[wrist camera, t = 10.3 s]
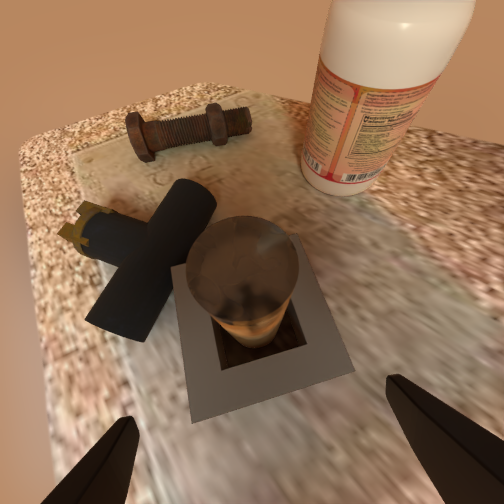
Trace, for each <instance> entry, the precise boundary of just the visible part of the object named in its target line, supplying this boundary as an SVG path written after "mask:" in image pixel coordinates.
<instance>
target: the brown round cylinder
mask: <svg viewBox="0 0 504 504" xmlns="http://www.w3.org/2000/svg"><path fill="white" fill-rule="evenodd" d="M185 272H186V280H187V284H188V287H189V290H190V292H191V294H192V296H193V297H194V299H195V300H196V301H197V302H198V304H199V305H200V306H201V307H202V308H203V309H205V310H206V311H207V312H208V313H209V314H210V315H211V316H212V317H213V318H214V319H215V320H216V321H217V322H218V323H219V324H220V325H221V326H222V327H223V328H224V329H225V330H226V331H228V332H229V333H230V334H231V335H232V336H233V337H234V338H235V339H236V340H237V341H238V342H239V343H240V344H242V345H243V346H245V347H248V348H261V347H264V346H266V345H268V344H269V343H270V342H271V341H272V340H273V339H274V337H275V336H276V334H277V331H278V329H279V326H280V323H281V321H282V318H283V316H284V313H285V311H286V308H287V306H288V303H289V300H290V298H291V295H292V293H293V290H294V288H295V285H296V283H297V279H298V274H299V260H298V254H297V251H296V248H295V246H294V244H293V242H292V241H291V239H290V238H289V236H288V235H287V234H286V233H285V232H284V231H283V230H282V229H281V228H279V227H278V226H277V225H275V224H273V223H271V222H270V221H267V220H265V219H262V218H258V217H252V216H236V217H231V218H227V219H224V220H221V221H219V222H217V223H215V224H213V225H211V226H210V227H208V228H207V229H206V230H205V231H204V232H202V233H201V234H200V235H199V237H198V238H197V239H196V240H195V242H194V243H193V245H192V247H191V249H190V251H189V254H188V257H187V261H186V271H185Z"/></svg>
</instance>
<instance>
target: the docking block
mask: <svg viewBox="0 0 504 504" xmlns="http://www.w3.org/2000/svg"><path fill="white" fill-rule="evenodd" d="M289 238H290V239H291V241H292V242H293V244H294V246H295V248H296V251H297V254H298V260H299V274H298V279H297V283H296V285H295V288H294V290H293V293H292V295H291V298H290V300H289V303H288V306H287V308H286V309H287V312H288V315H289V318H290V321H291V324H292V327H293V329H294V332H295V335H296V338H297V341H298V344H299V347H297V348H294V349H290V350H287V351H284V352H281V353H277V354H274V355H271V356H268V357H264V358H261V359H258V360H255V361H251V362H248V363H245V364H242V365H238V366H235V367H232V368H228V364H227V359H226V354H225V349H224V345H223V340H222V335H221V330H220V326H219V323H218V322H217V321H216V320H215V319H214V318H213V317H212V316H211V315H210V314H209V313H208V312H207V311H206V310H205V309H203V308H202V307H201V306H200V305H199V304H198V302H197V301H196V300H195V299H194V297H193V296H192V294H191V292H190V290H189V287H188V284H187V280H186V272H185V271H186V263H184V264H181V265H177V266H173V267H171V273H172V281H173V288H174V296H175V303H176V310H177V318H178V325H179V333H180V340H181V347H182V355H183V362H184V370H185V377H186V384H187V392H188V399H189V407H190V414H191V421H192V424H193V423H197V422H200V421H203V420H206V419H209V418H212V417H215V416H218V415H221V414H224V413H228V412H231V411H234V410H237V409H240V408H243V407H246V406H249V405H252V404H255V403H258V402H262V401H265V400H268V399H271V398H274V397H277V396H280V395H283V394H286V393H289V392H293V391H296V390H299V389H302V388H305V387H308V386H311V385H314V384H317V383H320V382H324V381H327V380H330V379H333V378H336V377H339V376H342V375H345V374H348V373H351V372H355V369H354V367H353V364H352V362H351V359H350V357H349V355H348V352H347V350H346V348H345V345H344V343H343V341H342V338H341V336H340V333H339V331H338V329H337V326H336V324H335V322H334V319H333V317H332V315H331V312H330V310H329V307H328V305H327V303H326V300H325V298H324V296H323V293H322V291H321V289H320V286H319V284H318V281H317V279H316V277H315V274H314V272H313V270H312V267H311V265H310V263H309V260H308V258H307V255H306V253H305V251H304V248H303V246H302V244H301V241H300V239H299V236H298V234H297V233H296V234H292V235H289Z"/></svg>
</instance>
